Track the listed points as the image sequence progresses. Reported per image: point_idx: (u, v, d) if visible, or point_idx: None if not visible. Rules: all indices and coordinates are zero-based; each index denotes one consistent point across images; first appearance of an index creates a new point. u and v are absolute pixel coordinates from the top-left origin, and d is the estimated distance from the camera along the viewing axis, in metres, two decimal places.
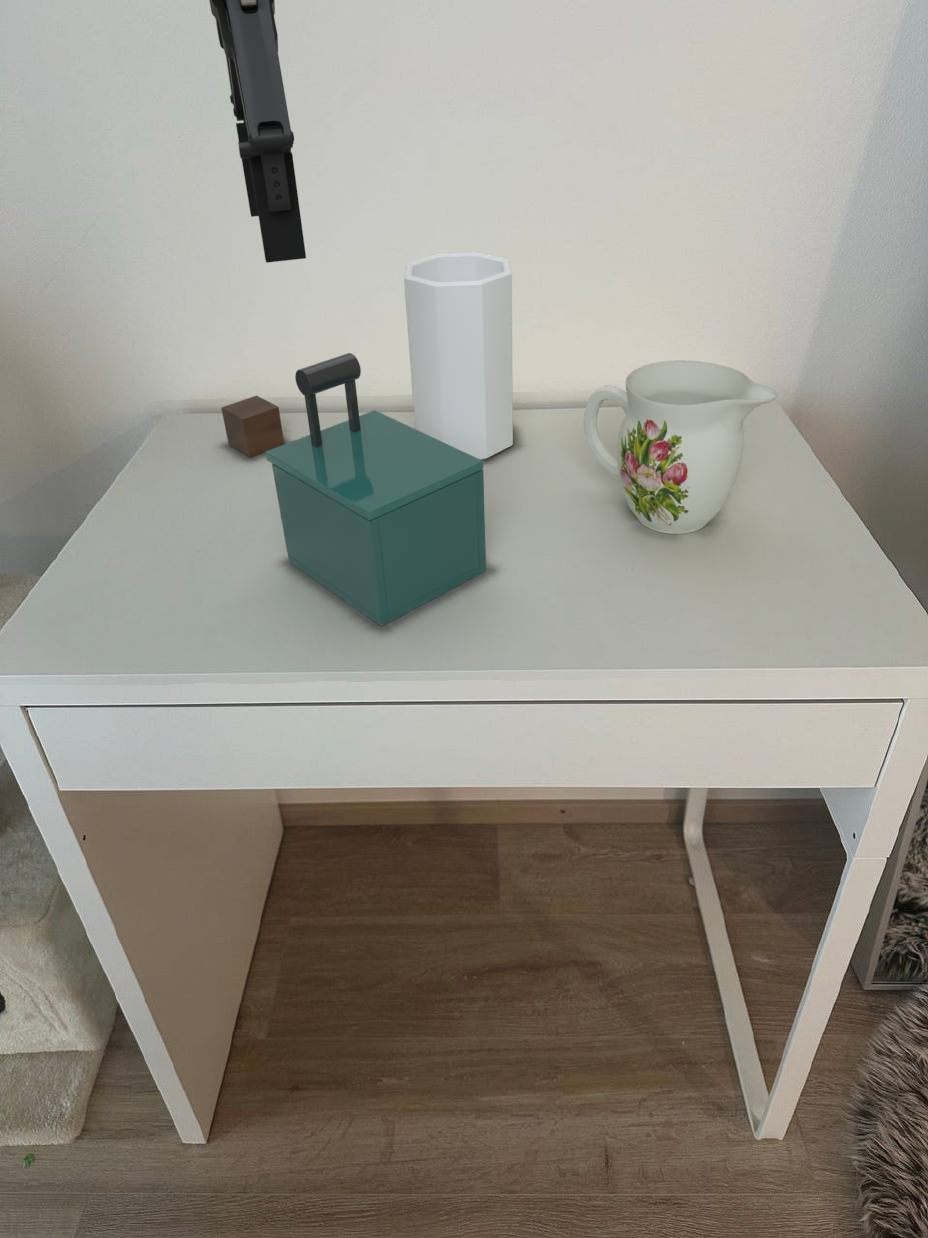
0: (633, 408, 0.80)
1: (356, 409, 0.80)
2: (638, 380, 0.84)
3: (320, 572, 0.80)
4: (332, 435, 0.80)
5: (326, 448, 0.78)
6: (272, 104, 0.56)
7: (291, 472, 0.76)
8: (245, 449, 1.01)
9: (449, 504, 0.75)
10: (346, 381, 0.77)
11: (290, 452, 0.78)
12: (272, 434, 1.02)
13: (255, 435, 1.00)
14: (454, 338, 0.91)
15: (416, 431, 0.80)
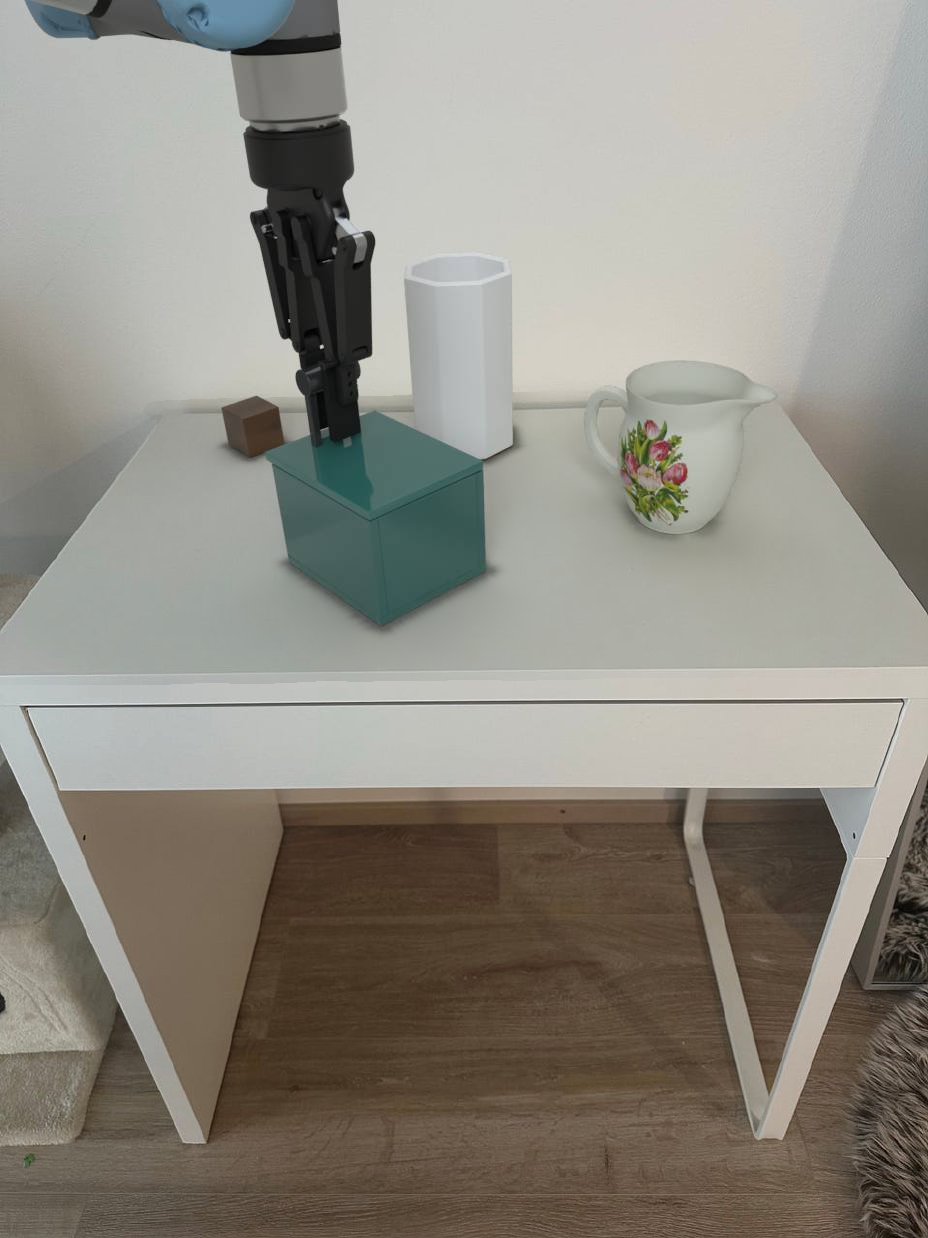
0: (633, 408, 0.80)
1: None
2: (638, 380, 0.84)
3: (320, 572, 0.80)
4: None
5: (326, 448, 0.78)
6: (363, 334, 0.71)
7: (291, 472, 0.76)
8: (245, 449, 1.01)
9: (449, 504, 0.75)
10: None
11: (290, 452, 0.78)
12: (272, 434, 1.02)
13: (255, 435, 1.00)
14: (454, 338, 0.91)
15: (416, 431, 0.80)
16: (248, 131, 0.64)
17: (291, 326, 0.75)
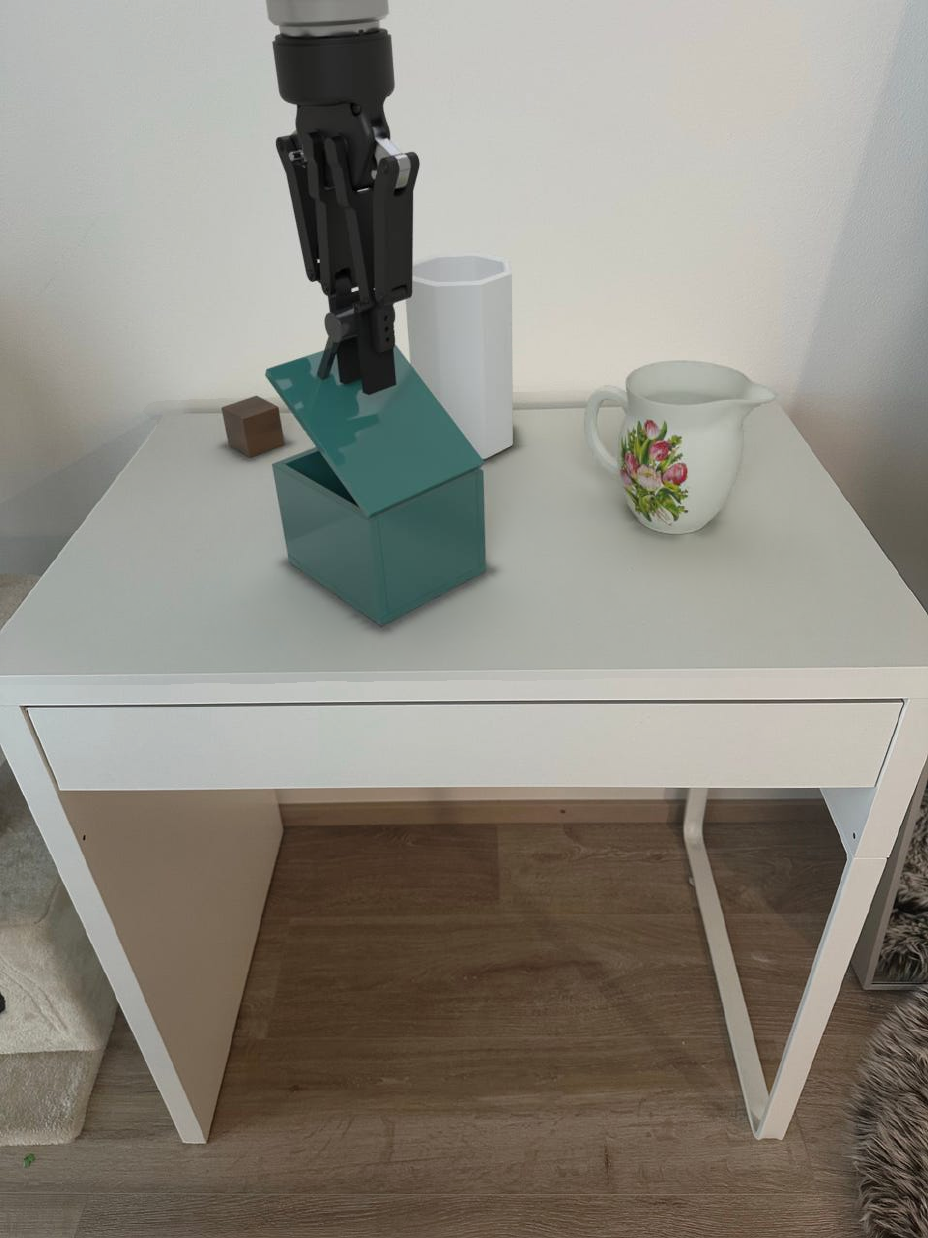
0: (633, 408, 0.80)
1: None
2: (638, 380, 0.84)
3: (320, 572, 0.80)
4: None
5: (331, 386, 0.73)
6: (403, 271, 0.64)
7: (292, 411, 0.72)
8: (245, 449, 1.01)
9: (449, 504, 0.75)
10: None
11: (293, 379, 0.72)
12: (272, 434, 1.02)
13: (255, 435, 1.00)
14: (454, 338, 0.91)
15: (425, 387, 0.77)
16: (278, 38, 0.58)
17: (321, 266, 0.69)
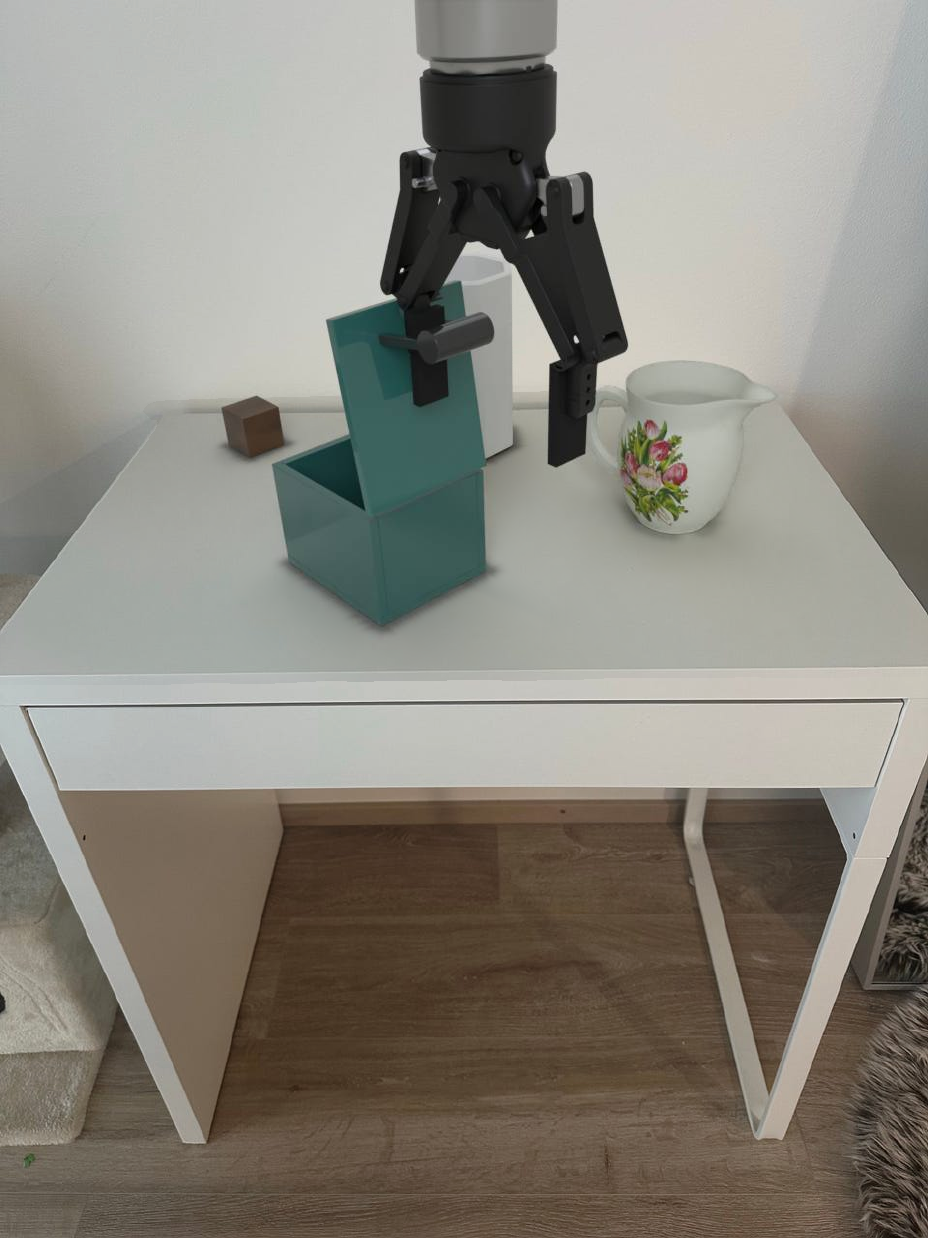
0: (633, 408, 0.80)
1: None
2: (638, 380, 0.84)
3: (320, 572, 0.80)
4: (402, 324, 0.66)
5: (387, 354, 0.66)
6: (609, 315, 0.52)
7: (339, 377, 0.64)
8: (245, 449, 1.01)
9: (449, 504, 0.75)
10: None
11: (354, 340, 0.64)
12: (272, 434, 1.02)
13: (255, 435, 1.00)
14: None
15: (470, 366, 0.71)
16: (430, 75, 0.50)
17: (406, 282, 0.62)
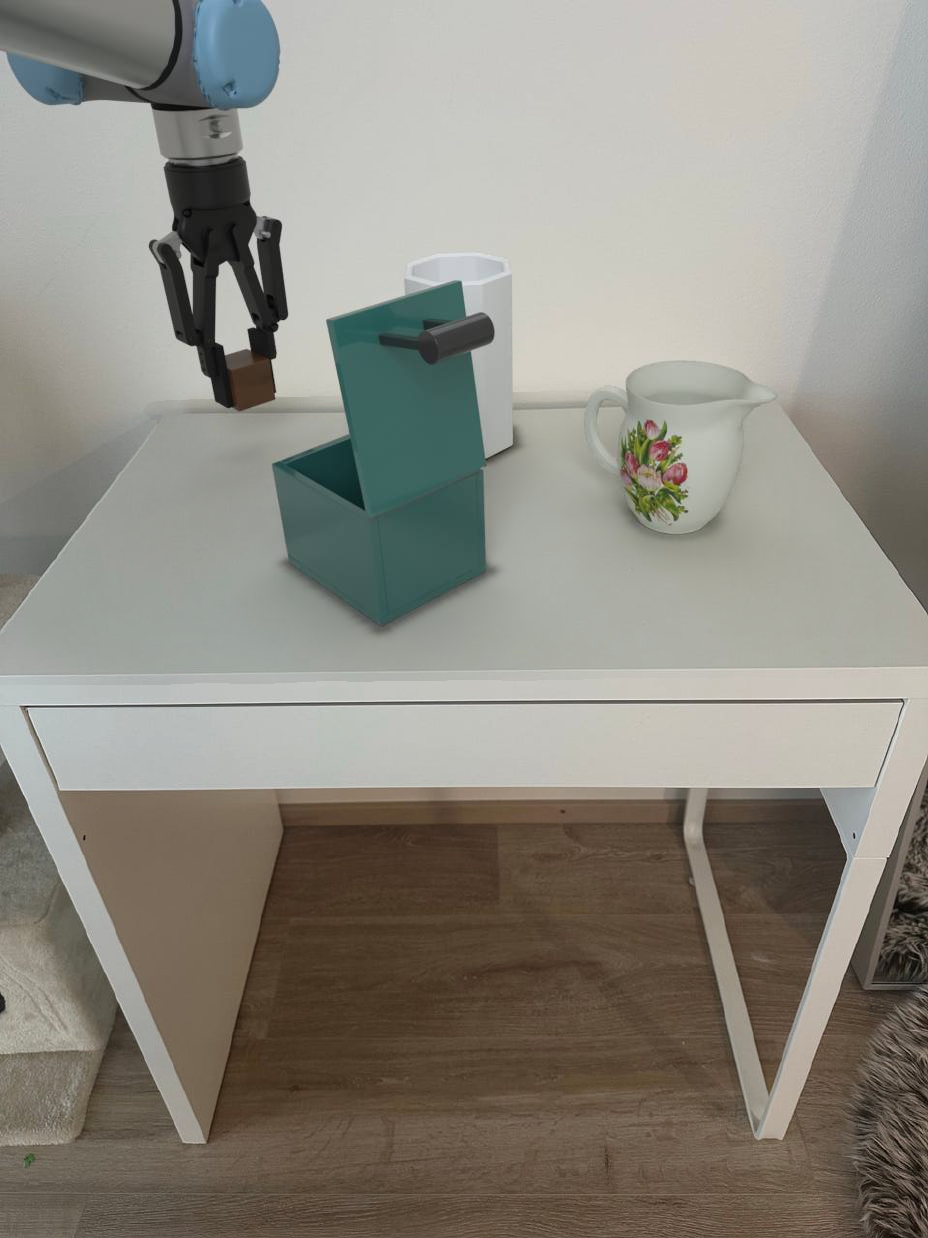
0: (633, 408, 0.80)
1: None
2: (638, 380, 0.84)
3: (320, 572, 0.80)
4: (403, 324, 0.66)
5: (387, 354, 0.66)
6: (179, 323, 0.91)
7: (339, 377, 0.64)
8: (235, 403, 0.98)
9: (449, 504, 0.75)
10: None
11: (354, 340, 0.64)
12: (263, 387, 0.98)
13: (245, 388, 0.97)
14: None
15: (470, 366, 0.71)
16: None
17: None
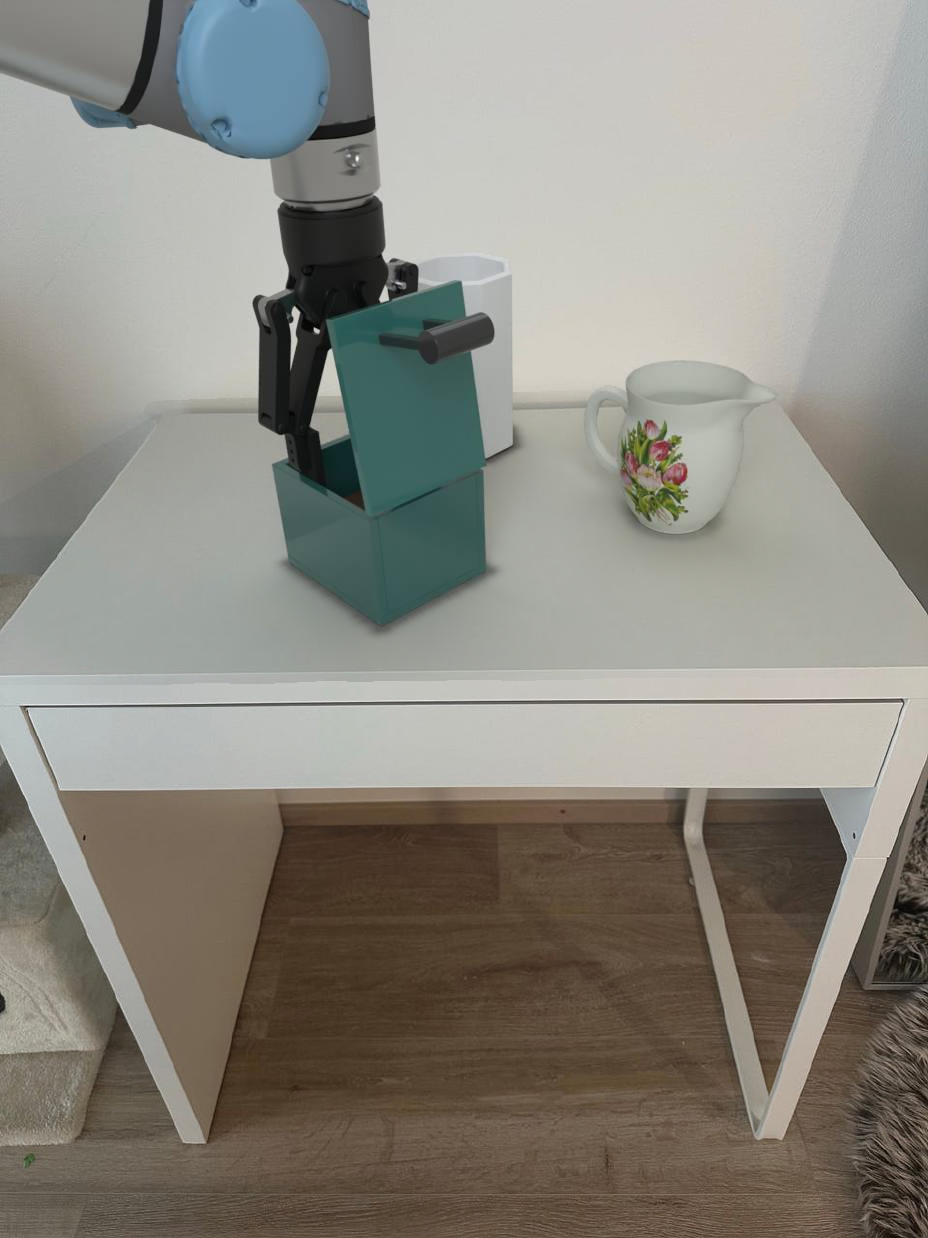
0: (633, 408, 0.80)
1: None
2: (638, 380, 0.84)
3: (320, 572, 0.80)
4: (403, 324, 0.66)
5: (387, 354, 0.66)
6: (269, 403, 0.70)
7: (339, 377, 0.64)
8: None
9: (449, 504, 0.75)
10: None
11: (354, 340, 0.64)
12: None
13: None
14: None
15: (470, 366, 0.71)
16: None
17: None
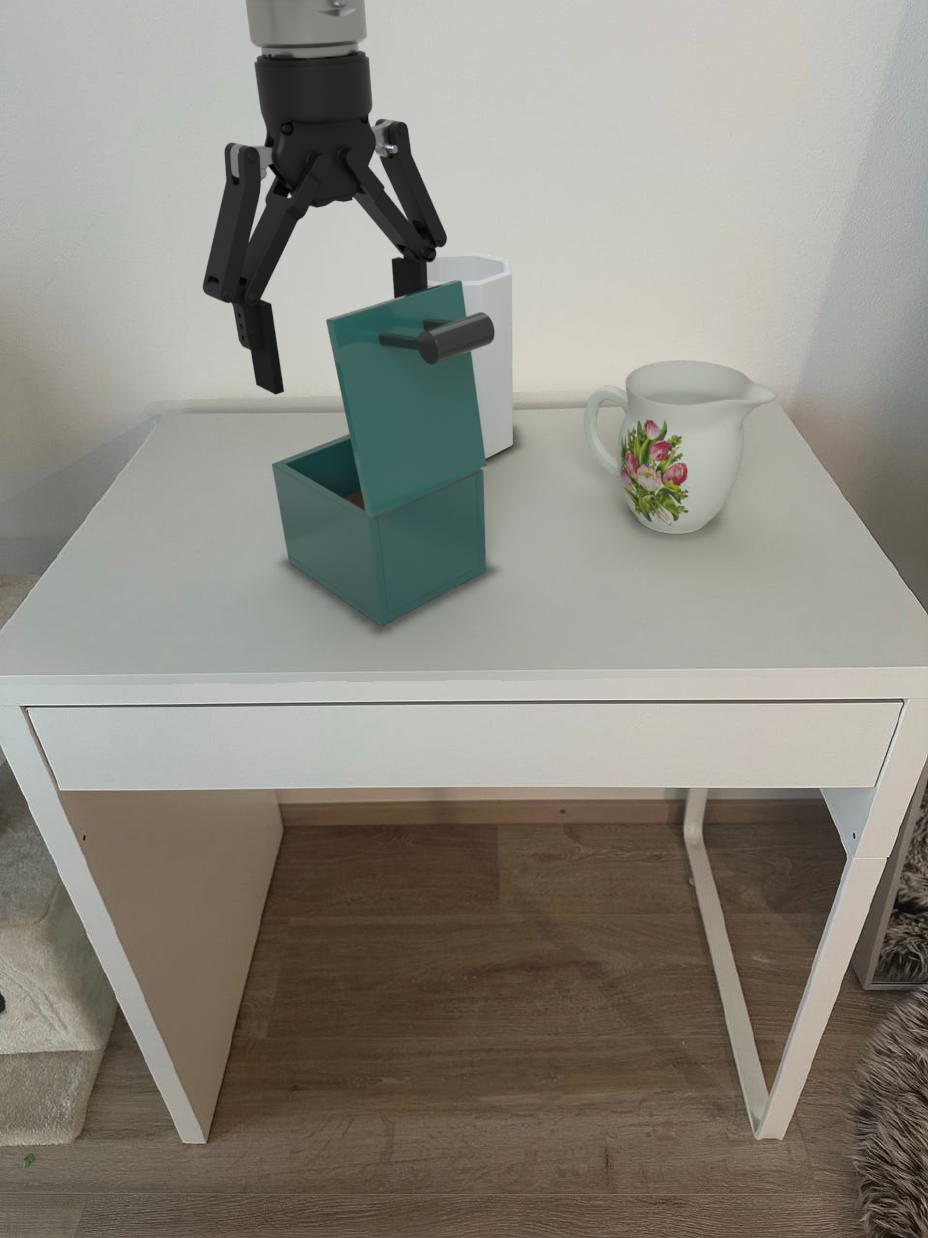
0: (633, 408, 0.80)
1: None
2: (638, 380, 0.84)
3: (320, 572, 0.80)
4: (403, 324, 0.66)
5: (387, 354, 0.66)
6: (219, 264, 0.63)
7: (339, 377, 0.64)
8: None
9: (449, 504, 0.75)
10: None
11: (354, 340, 0.64)
12: None
13: None
14: None
15: (470, 366, 0.71)
16: None
17: None
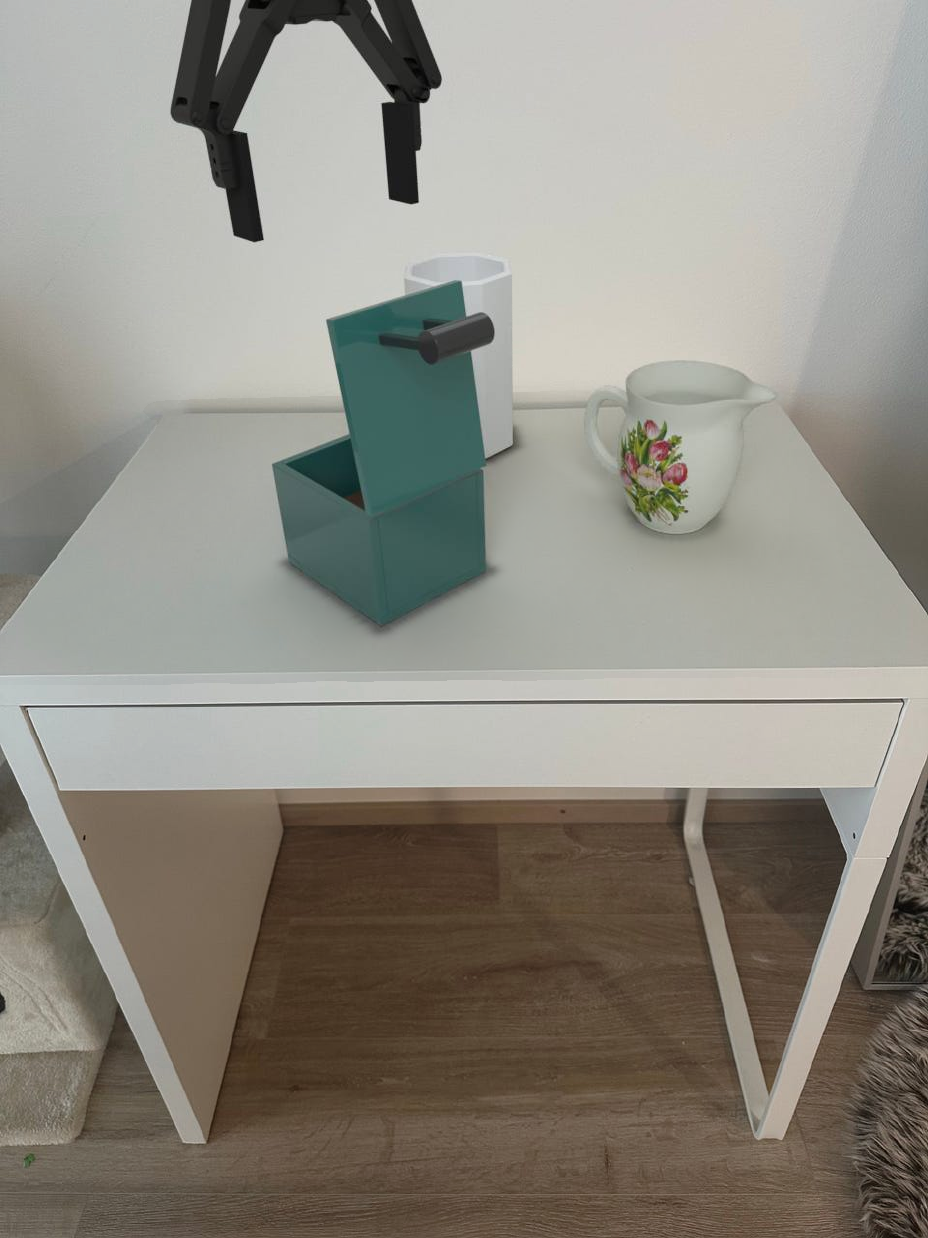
0: (633, 408, 0.80)
1: None
2: (638, 380, 0.84)
3: (320, 572, 0.80)
4: (403, 324, 0.66)
5: (387, 354, 0.66)
6: (188, 81, 0.57)
7: (339, 377, 0.64)
8: None
9: (449, 504, 0.75)
10: None
11: (354, 340, 0.64)
12: None
13: None
14: None
15: (470, 366, 0.71)
16: None
17: None
